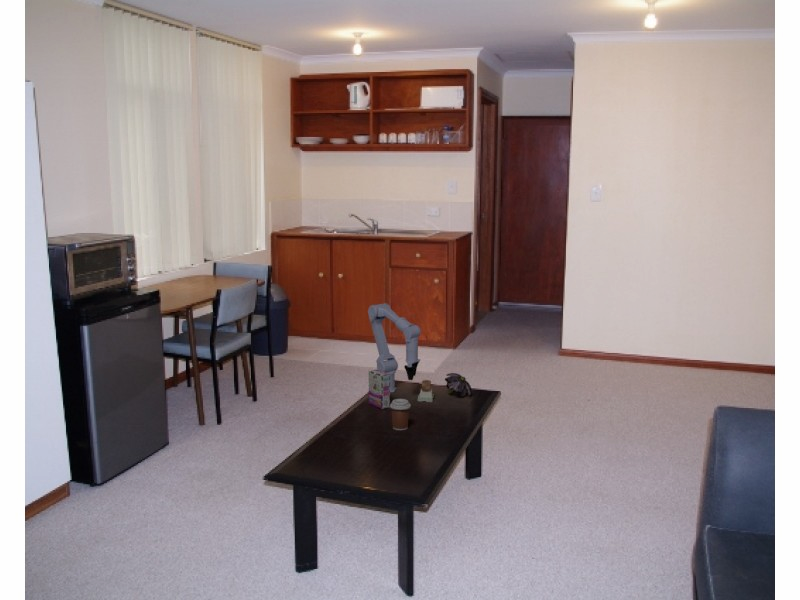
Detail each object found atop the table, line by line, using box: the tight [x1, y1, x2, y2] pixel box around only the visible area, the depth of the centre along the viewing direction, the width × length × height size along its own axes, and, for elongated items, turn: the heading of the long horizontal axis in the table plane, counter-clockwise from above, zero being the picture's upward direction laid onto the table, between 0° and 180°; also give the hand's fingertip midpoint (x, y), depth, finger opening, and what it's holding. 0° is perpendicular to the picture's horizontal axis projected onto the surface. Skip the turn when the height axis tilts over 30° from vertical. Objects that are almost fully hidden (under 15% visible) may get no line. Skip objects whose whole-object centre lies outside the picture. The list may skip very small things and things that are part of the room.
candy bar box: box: [368, 369, 391, 410], centre depth 339 cm, size 11×5×16 cm, turn 37°
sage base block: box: [417, 393, 435, 403], centre depth 350 cm, size 7×7×2 cm
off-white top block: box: [419, 388, 433, 397], centre depth 350 cm, size 6×6×2 cm
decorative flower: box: [444, 372, 473, 399], centre depth 356 cm, size 14×12×15 cm
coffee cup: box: [389, 398, 412, 431], centre depth 310 cm, size 9×9×12 cm
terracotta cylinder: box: [421, 379, 432, 392], centre depth 349 cm, size 4×4×4 cm
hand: (411, 377), depth 350 cm, fingers open, 7 cm apart
